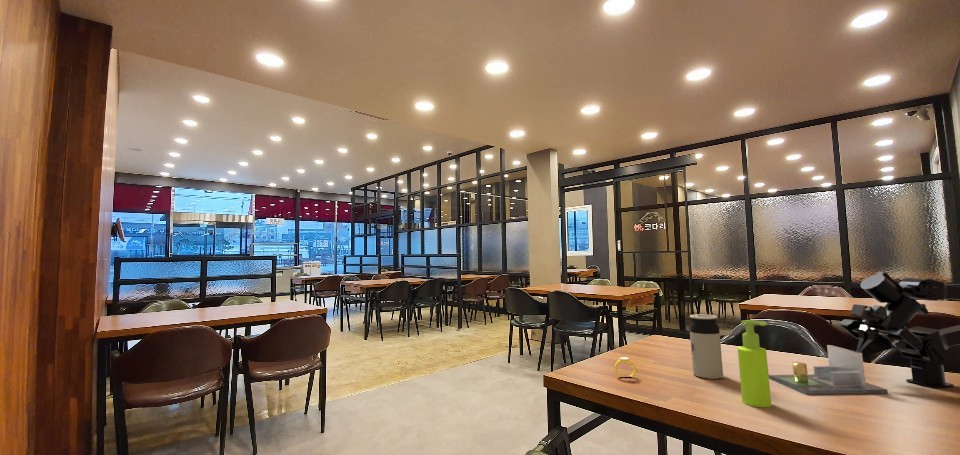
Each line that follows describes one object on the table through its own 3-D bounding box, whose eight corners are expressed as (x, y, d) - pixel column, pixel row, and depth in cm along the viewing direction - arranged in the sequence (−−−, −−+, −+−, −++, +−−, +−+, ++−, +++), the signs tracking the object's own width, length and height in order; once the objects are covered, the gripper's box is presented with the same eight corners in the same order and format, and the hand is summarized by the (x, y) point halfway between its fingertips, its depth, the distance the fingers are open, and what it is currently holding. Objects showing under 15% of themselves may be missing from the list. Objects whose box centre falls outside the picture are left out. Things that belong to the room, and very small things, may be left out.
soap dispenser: (767, 410, 92) (759, 323, 94) (737, 401, 98) (730, 320, 100) (781, 405, 95) (773, 321, 96) (750, 397, 101) (743, 317, 103)
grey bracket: (833, 375, 113) (830, 345, 113) (865, 386, 103) (861, 353, 103) (810, 375, 113) (806, 345, 114) (839, 386, 103) (836, 353, 104)
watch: (617, 379, 120) (614, 359, 121) (615, 377, 123) (612, 357, 123) (637, 378, 119) (634, 358, 120) (635, 376, 122) (632, 356, 122)
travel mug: (723, 374, 121) (718, 314, 123) (723, 381, 115) (717, 318, 116) (694, 371, 126) (689, 313, 127) (692, 377, 119) (687, 316, 120)
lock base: (841, 377, 114) (838, 356, 115) (888, 393, 100) (885, 369, 101) (769, 378, 115) (767, 357, 116) (805, 394, 102) (803, 370, 102)
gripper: (842, 291, 119) (807, 329, 118) (905, 297, 100) (864, 342, 100) (873, 317, 117) (838, 356, 117) (942, 328, 99) (901, 374, 98)
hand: (857, 356), depth 108 cm, fingers closed
